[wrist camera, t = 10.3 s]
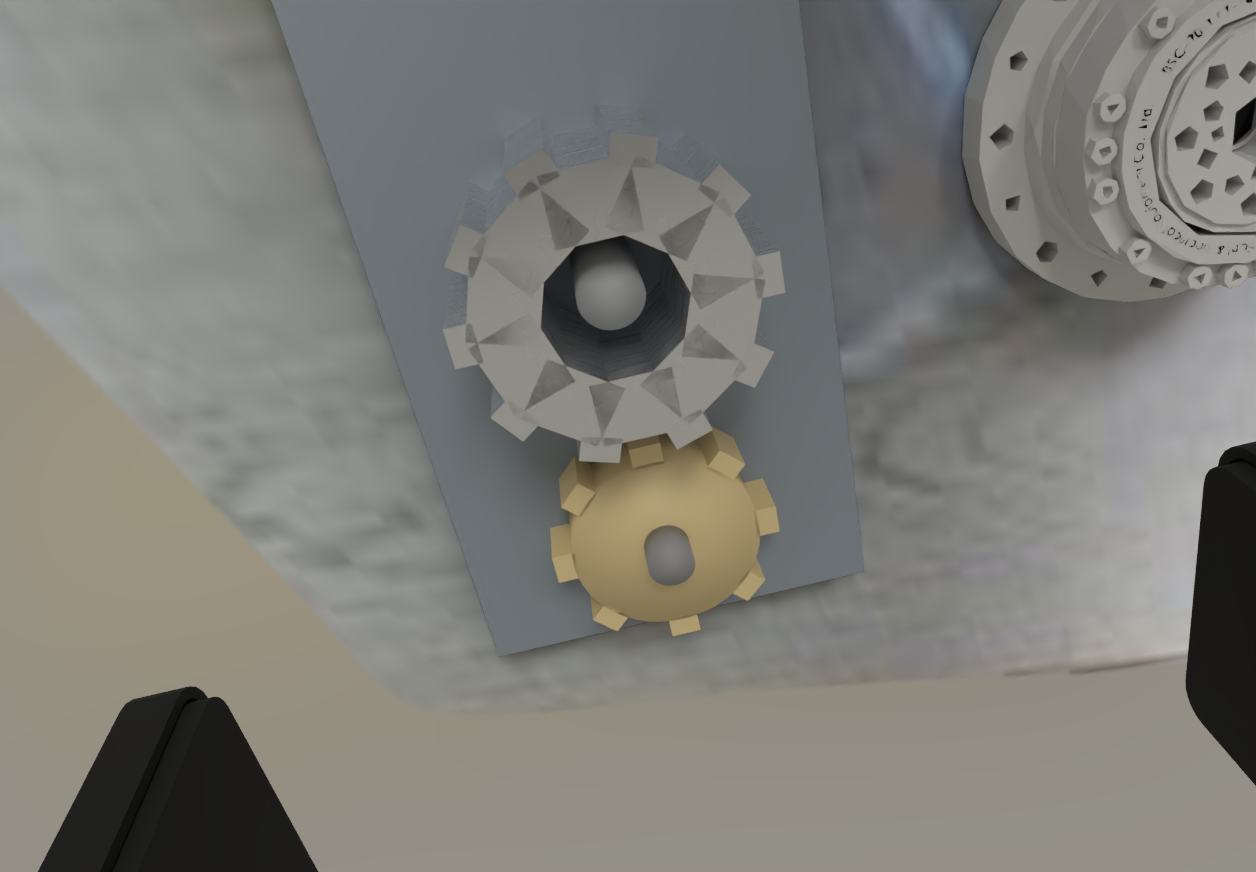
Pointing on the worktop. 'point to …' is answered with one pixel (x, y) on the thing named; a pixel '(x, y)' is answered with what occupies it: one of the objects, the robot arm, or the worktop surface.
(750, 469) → the gear board
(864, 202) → the worktop surface
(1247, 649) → the robot arm
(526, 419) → the steel gear
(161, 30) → the worktop surface
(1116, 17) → the mechanical component
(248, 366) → the worktop surface
